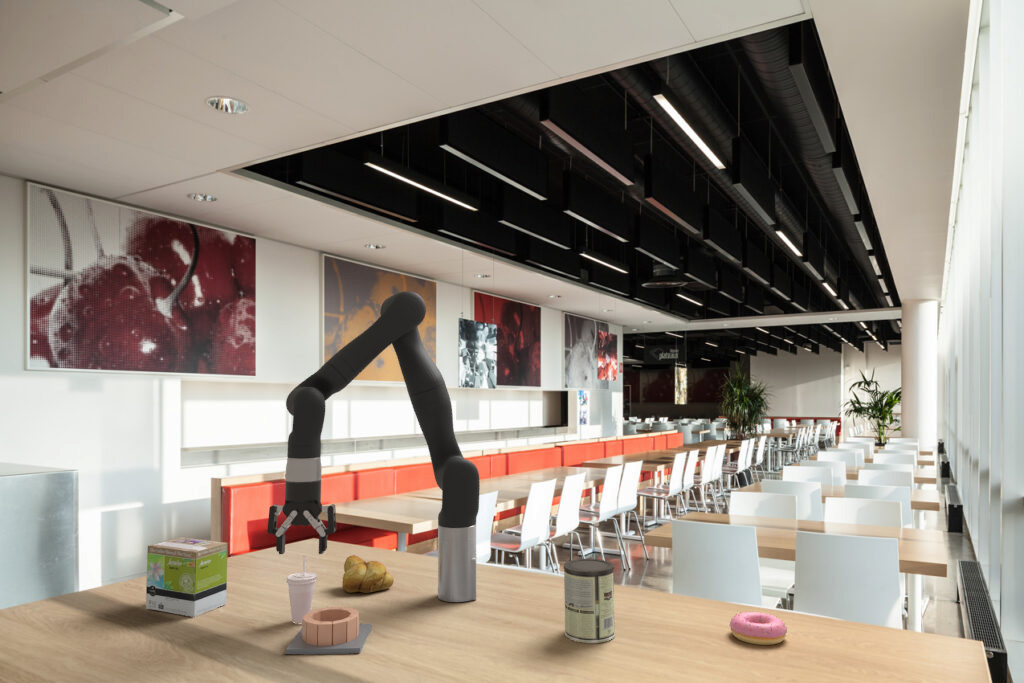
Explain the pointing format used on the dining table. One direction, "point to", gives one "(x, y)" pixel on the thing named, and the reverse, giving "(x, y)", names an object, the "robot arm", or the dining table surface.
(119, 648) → the dining table surface
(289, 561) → the dining table surface
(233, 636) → the dining table surface
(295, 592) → the smoothie
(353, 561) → the bread roll
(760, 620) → the doughnut
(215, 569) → the tea box
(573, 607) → the coffee can
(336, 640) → the collar
